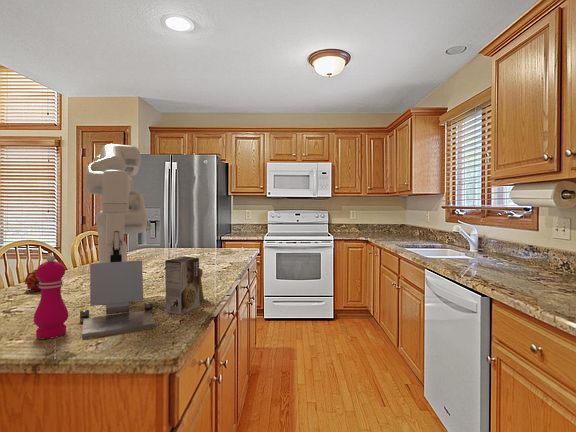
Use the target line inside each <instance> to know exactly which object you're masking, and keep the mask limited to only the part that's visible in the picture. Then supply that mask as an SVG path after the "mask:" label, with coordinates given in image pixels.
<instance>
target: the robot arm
mask: <svg viewBox="0 0 576 432" xmlns="http://www.w3.org/2000/svg"><path fill="white" fill-rule="evenodd" d="M141 161H142V155H141V152H140V150H139V148H138V147H137V146H134V145H127V144H116V143H115V144H113V143H110V144H109V143H108V144H105V145H103V146H102V147H101V148H100V151H99V155H97V156H95V157H94V158H93V160H92V162H91V163H90V164H88V166H87V167H86V171H85V174H84V175H85V176H84V185H85V190H86V191H87V192H88V193H89V194H91V195H97V196H98V195H99V203H100V209H101V210H100V211H99V212H97V213H96V216H95V222H96V223H95V226H96V230H97V236H98V263H109V262H125V261H128V246H127V242H126V241H125V234H141V233H143V232H145V231H146V230H147V226H148V219H147V218H148V216H147V211H146V204H145V198H144V195H143V194H142V193H141V192H140V191H136V190H133V189H134V180H133V178H132V177H135V176H136V175H138V174H139V170H140V167H141V163H142V162H141Z"/></svg>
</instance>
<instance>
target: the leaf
mask: <svg viewBox="0 0 576 432" xmlns="http://www.w3.org/2000/svg"><path fill="white" fill-rule="evenodd" d="M89 289H90V290H89V291H90V292H89V295H90V296H89V297H90V298H89V299H90V301H89V305H90V307H94V306H95V307H96V306H103V305H105V313H106V314H105V316H106V315H114V314H122V313H130V302H138V301H144V278H143V260H131V261H128V260H127V261H125V262H109V263H99V262H94V263H90V264H89Z"/></svg>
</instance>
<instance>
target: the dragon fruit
mask: <svg viewBox="0 0 576 432" xmlns="http://www.w3.org/2000/svg"><path fill="white" fill-rule="evenodd" d="M36 271H37V269H34V270H33V271H32V272H29V273H28V274H27V275H26V276H25V277H26V278H25V279H24V284H25V285H26V287H27V289H28V290H31V291H32V292H38V291H40V290H41V288H39V282H40V279H38V278H37V276H36Z"/></svg>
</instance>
